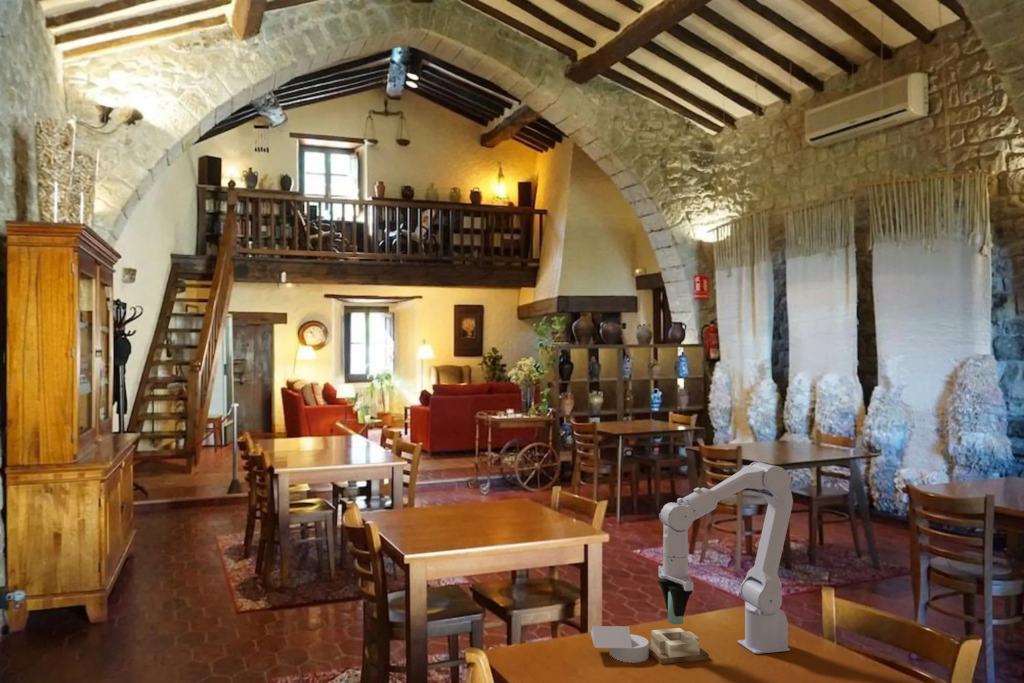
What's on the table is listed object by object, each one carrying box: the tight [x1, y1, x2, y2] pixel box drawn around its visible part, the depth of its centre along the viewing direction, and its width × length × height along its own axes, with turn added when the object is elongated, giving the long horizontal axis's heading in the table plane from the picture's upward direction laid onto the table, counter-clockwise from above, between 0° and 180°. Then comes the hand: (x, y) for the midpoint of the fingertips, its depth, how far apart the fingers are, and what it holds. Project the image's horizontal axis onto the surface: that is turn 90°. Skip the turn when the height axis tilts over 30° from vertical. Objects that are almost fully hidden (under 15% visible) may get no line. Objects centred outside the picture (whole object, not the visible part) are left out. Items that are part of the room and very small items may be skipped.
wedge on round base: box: [590, 625, 650, 664], centre depth 179 cm, size 9×7×13 cm
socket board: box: [648, 627, 710, 665], centre depth 180 cm, size 12×10×4 cm
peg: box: [667, 590, 684, 625], centre depth 180 cm, size 4×4×7 cm
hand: (675, 613), depth 180 cm, fingers closed on peg, 3 cm apart
